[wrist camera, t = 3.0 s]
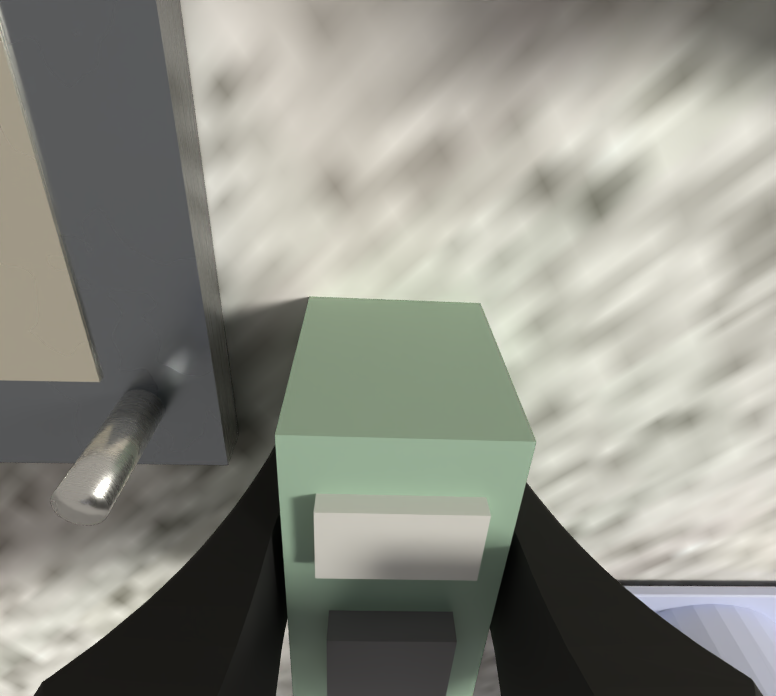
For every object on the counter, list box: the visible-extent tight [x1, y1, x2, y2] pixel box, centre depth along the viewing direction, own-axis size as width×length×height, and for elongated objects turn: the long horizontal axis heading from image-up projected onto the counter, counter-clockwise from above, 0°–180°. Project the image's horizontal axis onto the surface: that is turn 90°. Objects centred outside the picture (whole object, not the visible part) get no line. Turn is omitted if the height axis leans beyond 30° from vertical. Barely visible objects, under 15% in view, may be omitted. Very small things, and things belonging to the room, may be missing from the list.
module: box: [275, 297, 536, 696], centre depth 12 cm, size 8×4×6 cm, turn 177°
